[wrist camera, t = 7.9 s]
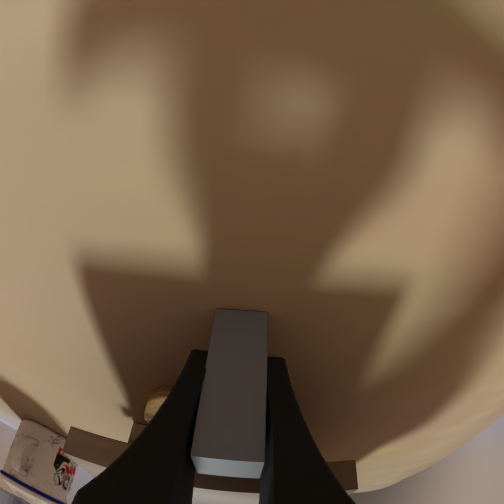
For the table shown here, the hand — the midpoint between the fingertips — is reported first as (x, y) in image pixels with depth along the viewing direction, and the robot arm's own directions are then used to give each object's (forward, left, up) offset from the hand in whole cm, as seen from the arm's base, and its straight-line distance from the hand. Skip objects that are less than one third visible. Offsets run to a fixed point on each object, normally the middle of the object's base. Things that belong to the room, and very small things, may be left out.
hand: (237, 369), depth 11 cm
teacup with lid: (-25, +22, -2) cm, 33 cm away
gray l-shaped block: (-5, 0, -2) cm, 5 cm away
